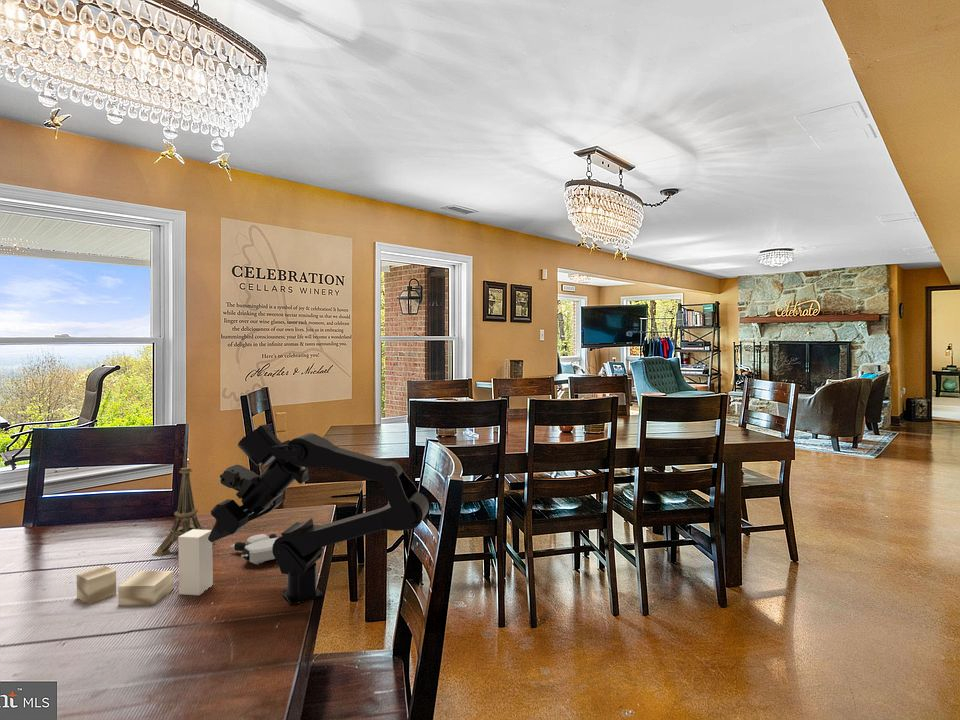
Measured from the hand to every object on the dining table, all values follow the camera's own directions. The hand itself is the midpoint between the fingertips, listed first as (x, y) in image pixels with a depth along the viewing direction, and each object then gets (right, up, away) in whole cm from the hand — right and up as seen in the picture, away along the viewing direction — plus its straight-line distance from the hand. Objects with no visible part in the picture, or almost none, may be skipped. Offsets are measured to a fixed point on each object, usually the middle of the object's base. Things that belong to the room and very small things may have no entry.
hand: (223, 532), depth 109 cm
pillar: (-6, -12, +1) cm, 14 cm away
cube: (-25, -13, -2) cm, 28 cm away
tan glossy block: (-15, -13, -2) cm, 20 cm away
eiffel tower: (-20, -12, +22) cm, 33 cm away
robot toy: (+1, -12, +19) cm, 23 cm away
